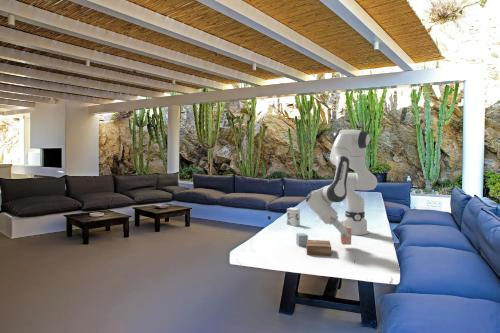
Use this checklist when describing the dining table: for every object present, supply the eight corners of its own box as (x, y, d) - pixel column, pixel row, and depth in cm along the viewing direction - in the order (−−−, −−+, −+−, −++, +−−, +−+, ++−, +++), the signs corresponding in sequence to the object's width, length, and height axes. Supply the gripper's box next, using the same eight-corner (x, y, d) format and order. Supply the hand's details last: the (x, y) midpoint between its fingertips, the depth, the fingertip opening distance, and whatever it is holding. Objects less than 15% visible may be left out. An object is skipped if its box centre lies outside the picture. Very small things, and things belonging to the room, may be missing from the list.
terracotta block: (340, 242, 187) (341, 225, 187) (348, 242, 187) (349, 226, 187) (342, 244, 183) (343, 227, 182) (351, 244, 183) (351, 228, 182)
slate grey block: (296, 243, 193) (296, 233, 192) (304, 243, 193) (305, 233, 193) (298, 246, 188) (299, 235, 188) (307, 246, 188) (307, 235, 188)
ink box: (300, 225, 242) (300, 209, 241) (294, 226, 239) (295, 209, 238) (291, 223, 248) (291, 207, 248) (286, 224, 245) (286, 207, 245)
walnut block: (306, 248, 184) (306, 239, 184) (329, 250, 182) (329, 240, 182) (306, 255, 172) (307, 245, 172) (331, 256, 171) (331, 247, 170)
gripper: (337, 216, 174) (356, 235, 174) (330, 208, 194) (346, 226, 195) (328, 224, 174) (347, 243, 175) (322, 216, 195) (338, 233, 195)
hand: (347, 234), depth 185 cm, fingers closed on terracotta block, 4 cm apart
